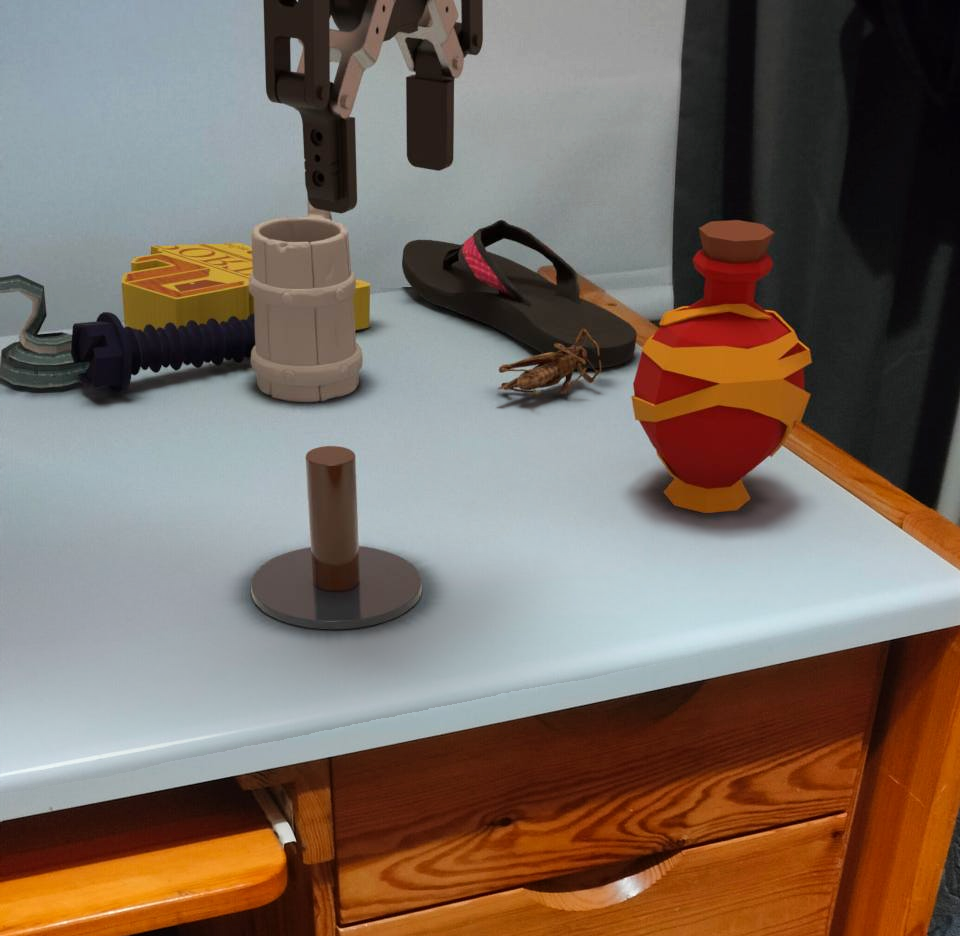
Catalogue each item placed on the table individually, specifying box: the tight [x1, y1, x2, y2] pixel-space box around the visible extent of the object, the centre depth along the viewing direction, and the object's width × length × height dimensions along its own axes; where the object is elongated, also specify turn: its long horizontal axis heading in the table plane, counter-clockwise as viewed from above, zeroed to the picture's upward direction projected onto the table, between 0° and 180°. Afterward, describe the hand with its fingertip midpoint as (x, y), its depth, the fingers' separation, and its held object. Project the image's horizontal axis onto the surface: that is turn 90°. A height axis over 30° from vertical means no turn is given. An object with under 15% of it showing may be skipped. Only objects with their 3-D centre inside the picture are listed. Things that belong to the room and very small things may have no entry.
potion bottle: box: [630, 219, 813, 514], centre depth 95 cm, size 10×10×15 cm
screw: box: [71, 311, 256, 394], centre depth 114 cm, size 18×5×5 cm
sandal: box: [401, 219, 638, 370], centre depth 122 cm, size 9×25×6 cm, turn 34°
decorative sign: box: [120, 242, 371, 331], centre depth 122 cm, size 20×3×15 cm
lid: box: [250, 445, 423, 630], centre depth 88 cm, size 9×9×8 cm
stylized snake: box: [0, 274, 90, 389], centre depth 113 cm, size 7×20×6 cm, turn 121°
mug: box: [249, 199, 364, 403], centre depth 111 cm, size 8×12×12 cm, turn 172°
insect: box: [497, 316, 603, 396], centre depth 112 cm, size 4×8×5 cm
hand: (382, 187), depth 76 cm, fingers open, 8 cm apart
